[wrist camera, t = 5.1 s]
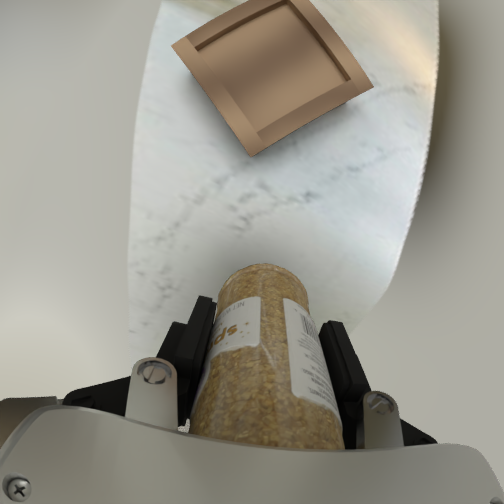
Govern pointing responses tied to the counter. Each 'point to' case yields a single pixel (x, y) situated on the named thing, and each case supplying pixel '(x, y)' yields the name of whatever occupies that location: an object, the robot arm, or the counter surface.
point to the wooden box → (271, 68)
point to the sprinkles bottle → (266, 367)
